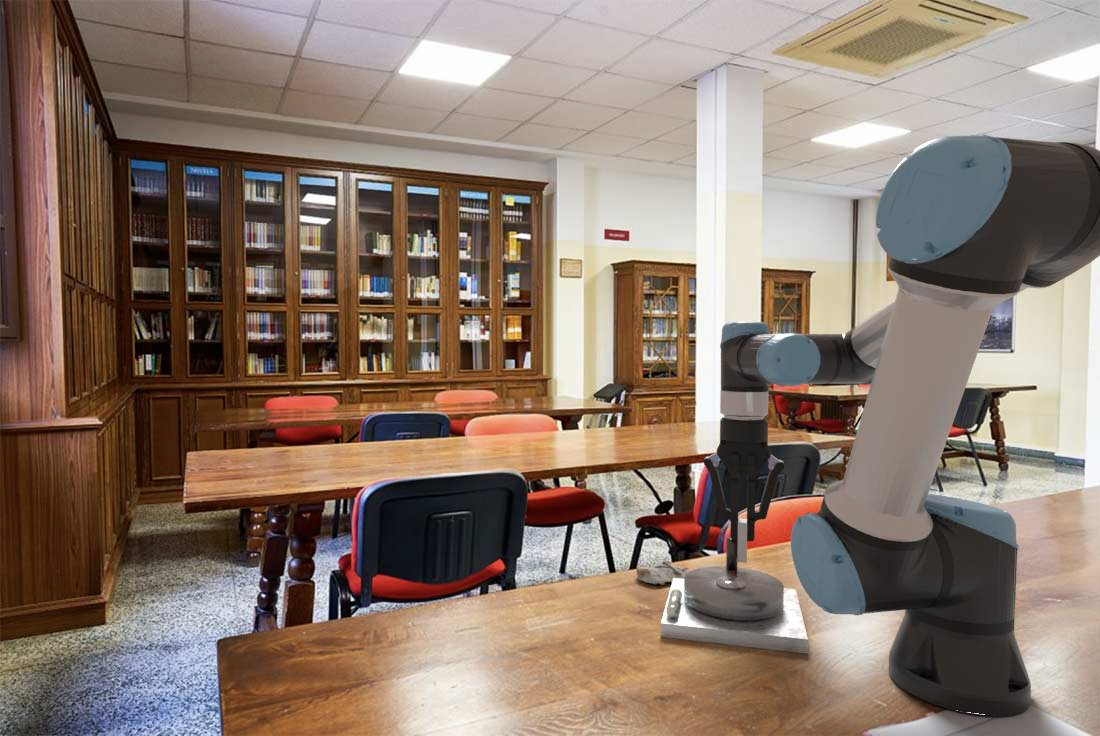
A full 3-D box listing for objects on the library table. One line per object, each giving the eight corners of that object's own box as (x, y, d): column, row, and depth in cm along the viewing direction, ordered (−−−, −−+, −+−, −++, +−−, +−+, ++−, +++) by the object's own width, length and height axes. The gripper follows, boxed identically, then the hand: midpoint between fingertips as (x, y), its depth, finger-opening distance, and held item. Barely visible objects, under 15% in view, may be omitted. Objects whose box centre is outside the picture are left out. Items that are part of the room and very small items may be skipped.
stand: (807, 653, 93) (808, 626, 93) (660, 636, 98) (661, 610, 98) (795, 601, 112) (795, 578, 112) (673, 589, 117) (673, 567, 117)
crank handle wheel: (804, 613, 101) (805, 560, 101) (715, 625, 96) (715, 569, 96) (747, 580, 115) (748, 533, 115) (667, 589, 111) (668, 540, 111)
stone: (672, 571, 128) (673, 557, 128) (697, 582, 121) (697, 568, 121) (630, 578, 123) (630, 564, 123) (653, 591, 117) (653, 576, 117)
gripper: (784, 415, 112) (782, 556, 113) (704, 413, 116) (702, 549, 117) (787, 420, 105) (785, 571, 106) (701, 418, 108) (700, 563, 109)
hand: (742, 559), depth 111 cm, fingers closed
